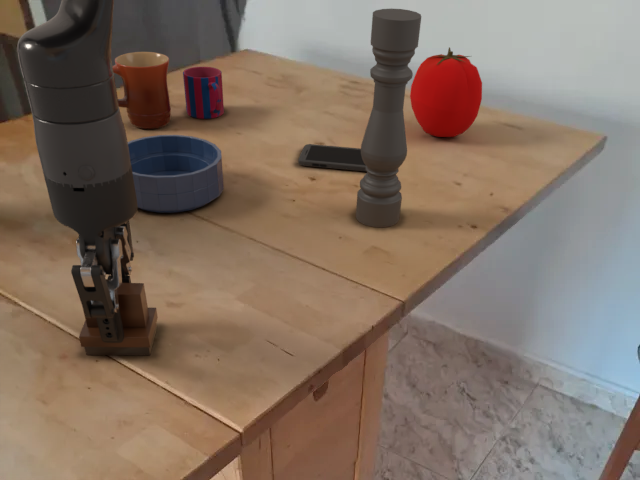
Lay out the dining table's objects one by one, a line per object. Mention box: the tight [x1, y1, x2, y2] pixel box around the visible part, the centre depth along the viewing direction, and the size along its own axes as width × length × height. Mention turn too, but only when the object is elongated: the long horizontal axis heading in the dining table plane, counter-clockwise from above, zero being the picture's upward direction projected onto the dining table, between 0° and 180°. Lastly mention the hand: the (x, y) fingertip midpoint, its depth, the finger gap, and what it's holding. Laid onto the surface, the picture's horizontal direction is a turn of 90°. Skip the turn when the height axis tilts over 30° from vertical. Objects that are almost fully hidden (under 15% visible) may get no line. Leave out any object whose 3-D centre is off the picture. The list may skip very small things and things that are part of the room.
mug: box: [112, 51, 172, 130], centre depth 116 cm, size 12×9×10 cm
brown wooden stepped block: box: [78, 282, 159, 356], centre depth 71 cm, size 7×6×6 cm
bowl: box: [128, 134, 225, 214], centre depth 98 cm, size 15×15×6 cm
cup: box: [182, 66, 225, 120], centre depth 121 cm, size 7×10×7 cm
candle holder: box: [355, 8, 422, 228], centre depth 88 cm, size 6×6×25 cm
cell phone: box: [297, 143, 367, 173], centre depth 110 cm, size 7×14×1 cm, turn 81°
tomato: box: [409, 47, 483, 138], centre depth 116 cm, size 12×12×13 cm
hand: (119, 323), depth 72 cm, fingers closed on brown wooden stepped block, 5 cm apart
